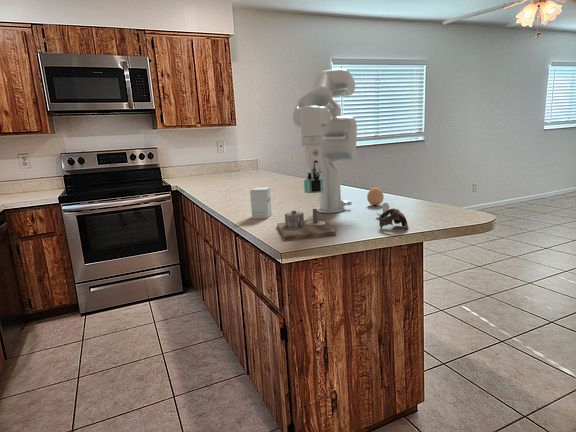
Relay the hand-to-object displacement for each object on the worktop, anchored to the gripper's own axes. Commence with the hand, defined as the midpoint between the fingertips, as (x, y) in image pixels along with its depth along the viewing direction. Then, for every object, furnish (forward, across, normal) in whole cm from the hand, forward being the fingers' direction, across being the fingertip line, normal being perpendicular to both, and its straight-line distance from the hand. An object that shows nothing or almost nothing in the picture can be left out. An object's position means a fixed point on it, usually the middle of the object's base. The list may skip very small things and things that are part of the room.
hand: (313, 189), depth 146 cm
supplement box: (+14, +28, +18) cm, 36 cm away
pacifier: (+15, +4, -30) cm, 33 cm away
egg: (+14, +30, -35) cm, 48 cm away
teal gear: (+1, 0, 0) cm, 1 cm away
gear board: (+15, -4, +5) cm, 16 cm away
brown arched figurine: (+15, -11, -27) cm, 33 cm away
